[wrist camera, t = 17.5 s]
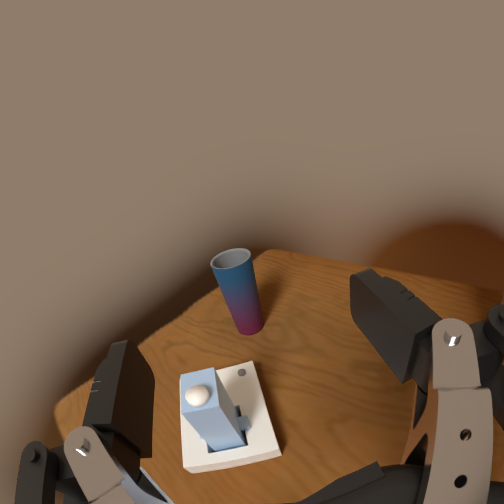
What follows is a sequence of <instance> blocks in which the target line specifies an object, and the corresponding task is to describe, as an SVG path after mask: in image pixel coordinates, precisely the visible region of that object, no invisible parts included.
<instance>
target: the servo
mask: <svg viewBox="0 0 504 504" xmlns="http://www.w3.org/2000/svg"><path fill="white" fill-rule="evenodd" d="M181 414H182V415H183V416H184V417H185V419H186V420H187V421H188V422H189V423H190V424H191V426H192V427H193V428H194V429H195V430H196V431H197V432H198V434H199V435H200V438H201V439H204V440H205V441H206V442H207V444H208V445H209V446H210V447H211V448H212V449H213V450H214V451H215V452H219V451H224V450H229V449H234V448H239V447H243V446H247V442H246V438H245V434H244V430H248V429H251V428H250V424H249V420H248V416H247V415H245V416H241V417H240V415H239V413H238V412H237V410H236V408H235V406H234V404H233V403H232V401H231V399H230V397H229V395H228V393H227V391H226V390H225V388H224V386H223V384H222V382H221V380H220V378H219V376H218V374H217V372H216V370H215V368H214V367H212V368H208V369H204V370H200V371H196V372H191V373H187V374H182V375H181Z"/></svg>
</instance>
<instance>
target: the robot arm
mask: <svg viewBox="0 0 504 504" xmlns="http://www.w3.org/2000/svg"><path fill="white" fill-rule="evenodd" d="M350 308H351V314H352V317H353V320H354V322H355V323H356V325H357V326H358V327H359V329H360V330H361V331H362V332H363V334H364V335H365V336H366V337H367V339H368V340H369V341H370V343H371V344H372V345H373V346H374V348H375V349H376V350H377V352H378V353H379V354H380V355H381V357H382V358H383V359H384V361H385V362H386V363H387V364H388V366H389V367H390V368H391V370H392V371H393V372H394V374H395V375H396V376H397V378H398V379H399V380H400V382H401V383H402V384H403V383H404V382H406V381H408V380H410V379H411V378H413V379H414V380H415V382H416V385H415V390H414V400H413V409H412V417H411V424H410V431H409V435H408V439H407V442H406V444H405V447H404V451H403V454H402V459H401V463H400V464H398V465H389V466H383V467H380V466H379V464H378V462H377V461H376V462H374V463H372V464H370V465H368V466H366V467H364V468H362V469H360V470H357V471H355V472H353V473H351V474H348V475H346V476H343V477H341V478H338V479H337V480H335V481H334V482H332V483H331V484H329V485H327V486H326V487H324V488H323V489H321V490H319V491H318V492H316V493H314V494H313V495H311V496H309V497H307V498H306V499H304V500H302V501H300V502H296V503H284V504H504V482H497V481H490V478H491V468H492V454H493V416H494V417H495V419H496V420H497V422H498V423H499V424H500V426H501V427H502V429H503V430H504V294H503V297H502V300H501V303H500V304H497V305H494V306H492V307H491V308H490V309H489V312H488V315H487V317H486V320H484V321H481V322H477V323H474V324H471V325H468V324H466V323H465V322H463V321H461V320H459V319H455V318H447V319H442V318H441V317H439V316H438V315H437V314H436V313H435V312H434V311H433V310H432V309H430V308H429V307H428V306H427V305H426V304H425V303H423V302H422V301H421V300H420V299H419V298H418V297H415V295H414V294H413V293H412V292H411V291H408V290H407V288H406V287H405V286H403V285H402V284H401V283H400V282H399V281H396V280H394V279H391V278H388V277H383V278H382V277H381V276H380V275H378V274H377V273H376V272H375V271H374V270H372V269H370V268H369V269H366V270H363V271H361V272H358V273H355V274H352V275H351V276H350ZM154 389H155V379H154V375H153V372H152V369H151V368H150V366H149V364H148V363H147V362H146V360H145V358H144V357H143V355H142V354H141V352H140V351H139V349H138V348H137V346H136V345H135V343H134V342H133V341H132V340H126V341H122V342H117V343H113V344H112V345H111V346H110V349H109V352H108V356H107V359H104V360H103V361H102V363H101V364H100V366H99V367H98V368H97V370H96V373H95V377H94V383H93V384H92V388H91V393H90V396H89V400H88V404H87V408H86V412H85V416H84V421H83V425H82V426H81V427H78V428H76V429H74V430H73V431H71V432H70V433H69V435H68V436H67V438H66V440H65V443H64V445H62V446H59V447H56V448H52V449H49V448H47V447H46V446H45V445H44V444H42V443H41V442H39V441H34V442H31V443H29V444H28V445H27V446H26V447H25V448H24V450H23V452H22V456H21V461H20V466H19V472H18V478H17V486H16V495H15V504H55V490H56V491H58V492H60V493H62V494H64V504H175V503H174V502H173V501H172V500H171V499H170V498H169V497H168V496H167V495H166V494H165V493H164V492H163V491H162V490H161V489H160V488H159V486H158V485H157V484H156V483H155V482H154V481H153V480H152V478H151V477H150V476H149V475H148V474H147V473H146V471H145V470H144V469H143V468H142V467H141V466H140V458H152V426H153V404H154Z"/></svg>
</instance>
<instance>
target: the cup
mask: <svg viewBox="0 0 504 504" xmlns="http://www.w3.org/2000/svg"><path fill="white" fill-rule="evenodd" d="M211 267H212V269H213V272H214V274H215V277H216V279H217V282H218V284H219V286H220V289H221V291H222V294H223V296H224V298H225V301H226V303H227V305H228V308H229V310H230V312H231V315H232V317H233V319H234V322H235V324H236V326H237V329H238V331H239V332H240V333H241V334H244V335H252V334H255V333H257V332H259V331H260V330H261V329H262V328H263V325H264V323H263V318H262V312H261V307H260V301H259V296H258V290H257V285H256V279H255V274H254V268H253V263H252V258H251V253H250V252H249V250H247V249H242V248H237V249H230V250H227V251H224V252H222V253H220V254H218V255H216V256H215V257H214V258H213V259H212V260H211Z"/></svg>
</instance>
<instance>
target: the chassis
mask: <svg viewBox="0 0 504 504" xmlns="http://www.w3.org/2000/svg"><path fill="white" fill-rule="evenodd" d="M216 372H217V374H218V376H219V378H220V380H221V382H222V384H223V386H224V388H225V390H226V391H227V393H228V395H229V397H230V399H231V401H232V403H233V404H234V406H235V408H236V410H237V412H238V413H239V414H241V415H242V416H245V415H247V416H248V420H249V424H250V428H251V429H248V430H245V433H246V437H247V441H248V446H243V447H239V448H234V449H229V450H224V451H219V452H214V453H213V449H212V448H211V447H210V446H209V445H208V444H207V442H206V441H205V440H204V439H201V438H200V435H199V434H198V432H197V431H196V430H195V429H194V428H193V427H192V426H191V424H190V423H189V422H188V421H187V420H186V419H185V417H184V416H183V415H182V414H181V379H180V414H181V437H182V453H183V467H184V468H185V469H186V470H188V471H189V472H190V473H198V472H206V471H213V470H219V469H225V468H230V467H236V466H241V465H245V464H250V463H254V462H258V461H262V460H266V459H270V458H274V457H277V456H281V455H282V454H281V451H280V448H279V445H278V441H277V438H276V435H275V432H274V429H273V426H272V422H271V419H270V416H269V413H268V409H267V406H266V403H265V399H264V396H263V393H262V389H261V386H260V383H259V379H258V376H257V372H256V369H255V366H254V364H253V361H249V362H246V363H242V364H239V365H235V366H231V367H228V368H224V369H220V370H216Z"/></svg>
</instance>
